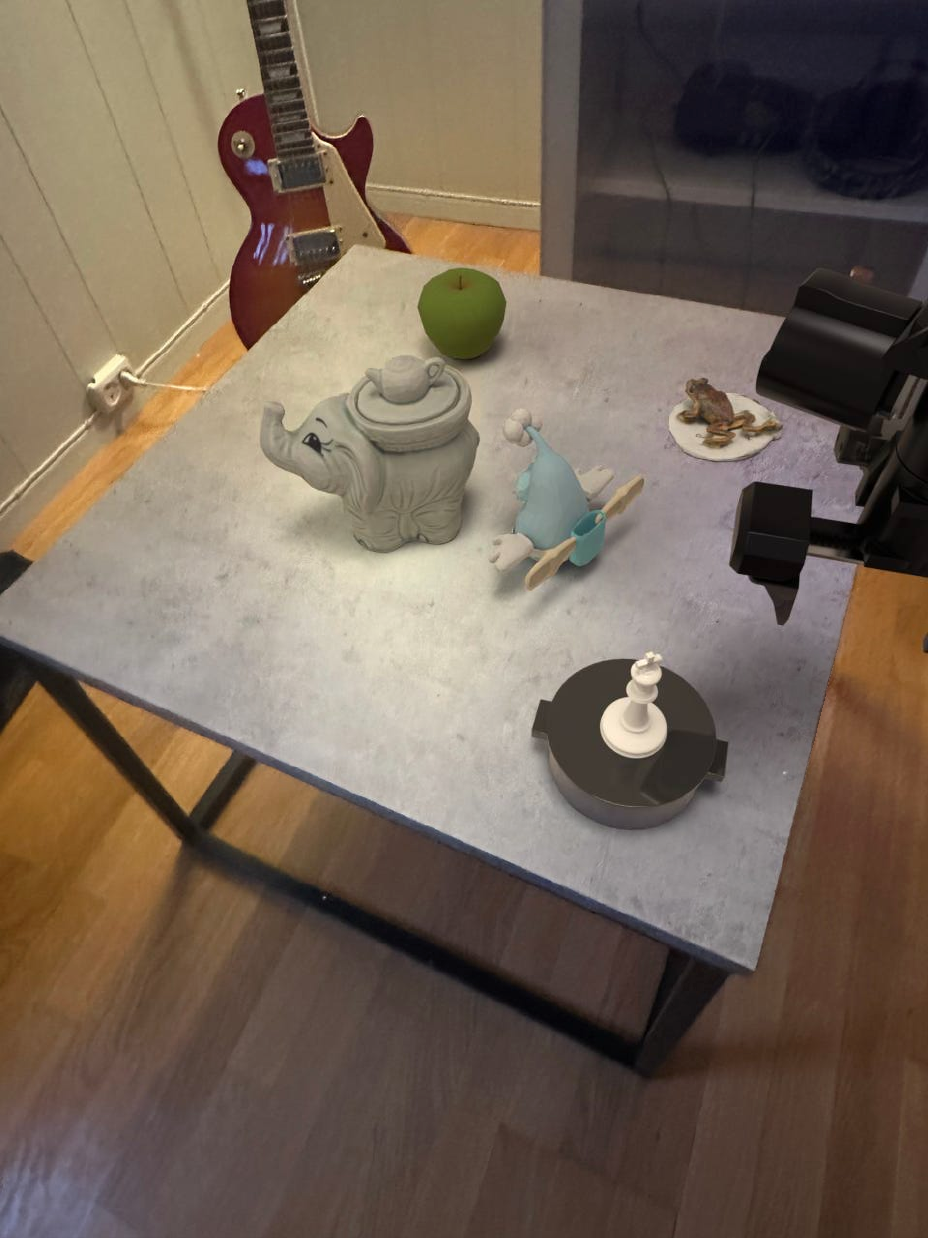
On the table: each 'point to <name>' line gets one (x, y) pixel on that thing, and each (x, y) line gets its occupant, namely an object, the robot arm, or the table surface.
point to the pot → (614, 781)
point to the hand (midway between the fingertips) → (851, 633)
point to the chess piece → (637, 713)
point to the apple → (462, 312)
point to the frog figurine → (721, 424)
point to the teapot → (386, 451)
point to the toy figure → (555, 507)
